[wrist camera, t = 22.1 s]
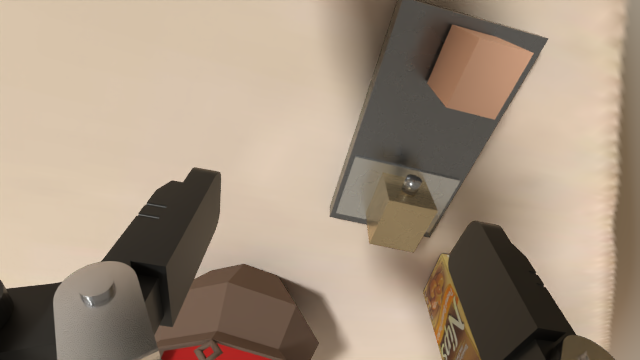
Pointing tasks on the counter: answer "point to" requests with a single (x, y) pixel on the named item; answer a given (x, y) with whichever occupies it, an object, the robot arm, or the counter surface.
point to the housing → (400, 212)
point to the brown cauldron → (237, 320)
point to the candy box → (448, 315)
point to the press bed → (418, 113)
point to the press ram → (477, 71)
